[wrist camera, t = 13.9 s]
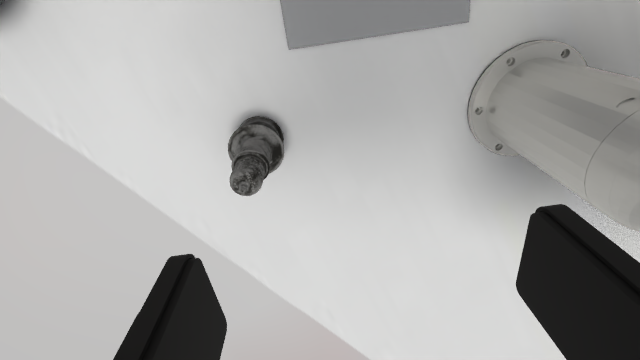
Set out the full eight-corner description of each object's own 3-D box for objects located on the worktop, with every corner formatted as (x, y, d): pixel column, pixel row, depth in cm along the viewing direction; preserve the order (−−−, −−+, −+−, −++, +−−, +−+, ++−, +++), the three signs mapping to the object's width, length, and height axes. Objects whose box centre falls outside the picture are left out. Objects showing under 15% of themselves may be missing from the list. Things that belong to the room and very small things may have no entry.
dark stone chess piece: (224, 129, 37) (190, 180, 26) (268, 104, 35) (251, 147, 25) (253, 169, 39) (234, 231, 29) (295, 147, 38) (291, 203, 28)
